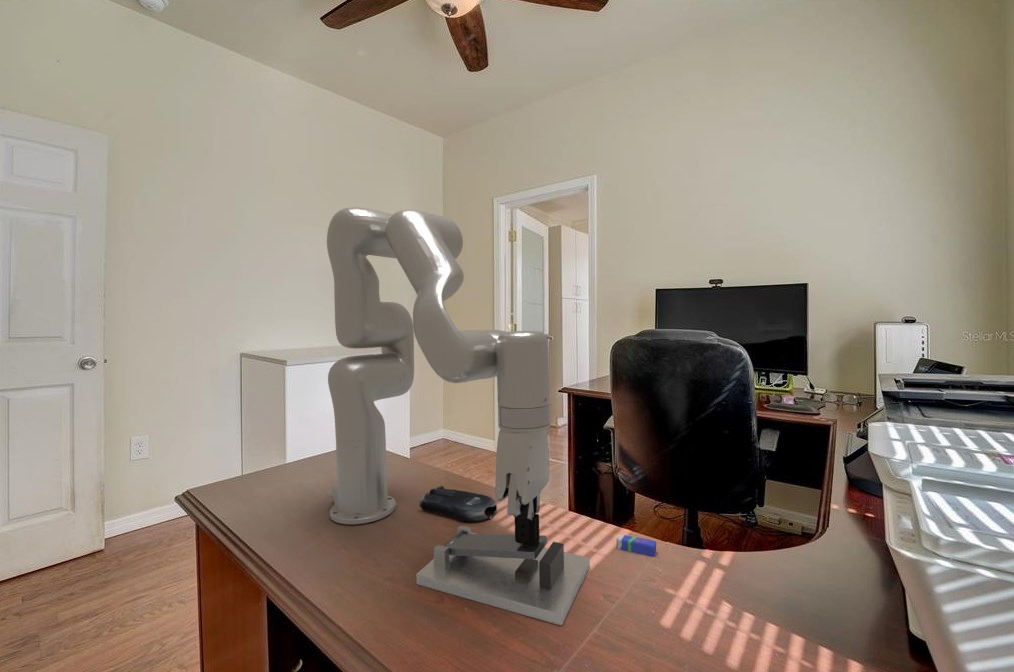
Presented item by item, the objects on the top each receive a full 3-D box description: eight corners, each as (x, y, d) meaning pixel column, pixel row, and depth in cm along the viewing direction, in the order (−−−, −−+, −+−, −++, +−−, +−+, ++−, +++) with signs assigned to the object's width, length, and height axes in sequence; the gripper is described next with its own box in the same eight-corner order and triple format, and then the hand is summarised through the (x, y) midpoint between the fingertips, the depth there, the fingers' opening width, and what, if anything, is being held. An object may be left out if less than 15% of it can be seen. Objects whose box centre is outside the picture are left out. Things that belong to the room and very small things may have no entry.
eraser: (619, 544, 74) (619, 532, 74) (656, 552, 71) (656, 540, 71) (616, 550, 72) (616, 538, 72) (654, 558, 69) (654, 546, 69)
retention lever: (441, 556, 67) (440, 546, 67) (458, 540, 71) (457, 532, 71) (535, 560, 60) (533, 550, 60) (547, 543, 65) (546, 534, 65)
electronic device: (417, 522, 87) (482, 525, 80) (415, 493, 88) (480, 494, 81) (444, 510, 95) (505, 512, 89) (442, 484, 96) (502, 484, 89)
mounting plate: (416, 584, 63) (415, 550, 63) (465, 539, 76) (464, 511, 76) (561, 625, 54) (561, 586, 54) (589, 566, 67) (589, 534, 67)
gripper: (520, 405, 71) (523, 516, 72) (476, 426, 57) (480, 562, 58) (564, 408, 68) (567, 524, 68) (528, 430, 54) (532, 575, 55)
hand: (527, 541), depth 63 cm, fingers closed
